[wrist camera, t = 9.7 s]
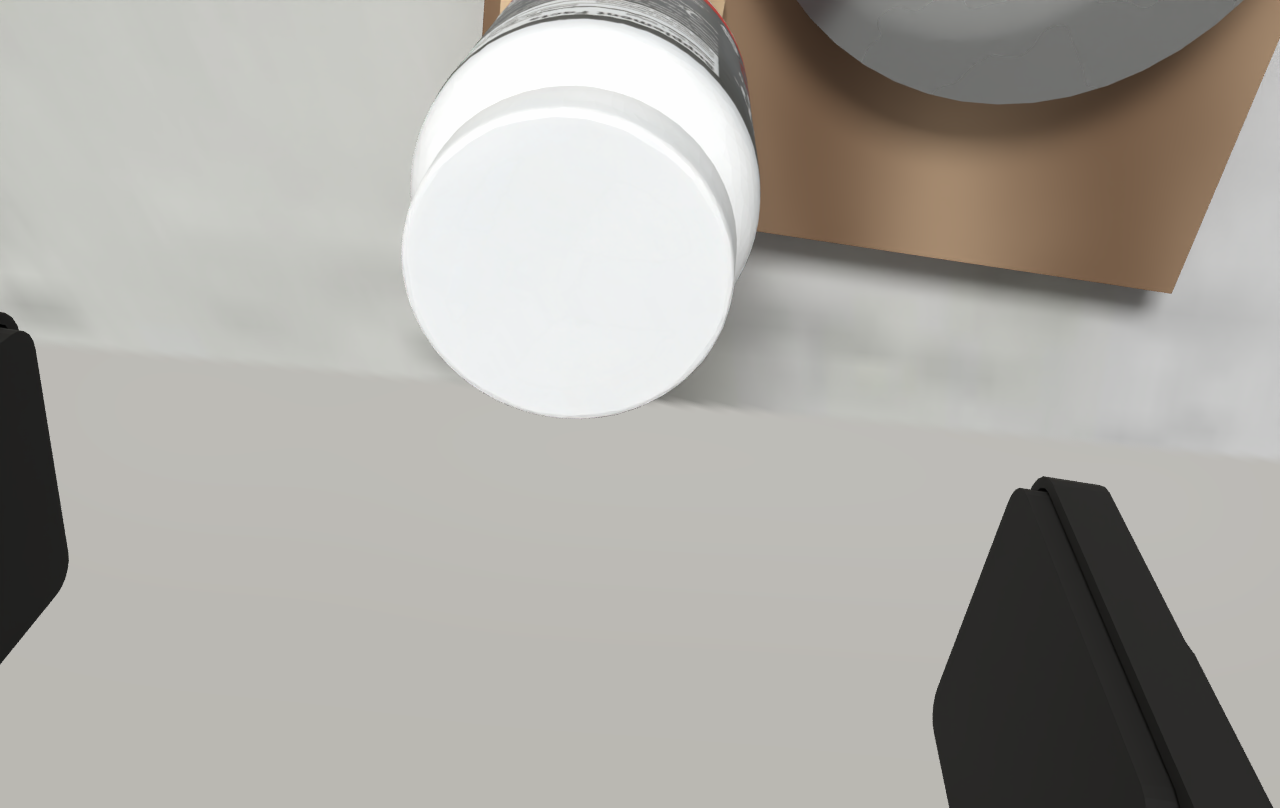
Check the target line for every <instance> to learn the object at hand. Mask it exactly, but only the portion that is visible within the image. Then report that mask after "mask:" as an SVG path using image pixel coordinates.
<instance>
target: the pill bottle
mask: <svg viewBox="0 0 1280 808" xmlns="http://www.w3.org/2000/svg"><path fill="white" fill-rule="evenodd" d="M410 194H411V204H410V207H409V210H408V213H407V216H406V220H405V225H404V230H403V236H402V255H401V261H402V271H403V278H404V284H405V289H406V292H407V295H408V298H409V302H410V305H411V308H412V311H413V313H414V315H415V317H416V320H417V322H418V324H419V326H420V328H421V330H422V332H423V333H424V335H425V336H426V337H427V339H428V341H429V342H430V344H431V345H432V347H433V348H434V349H435V350H436V352H437V353H438V354H439V355H440V357H441V358H442V359H443V360H444V361H445V362H446V363H447V364H448V365H449V366H450V367H451V368H452V369H453V370H454V371H455V372H456V373H457V374H458V375H460V376H461V377H462V378H463V379H464V380H466V381H467V382H468V383H470V384H471V385H472V386H474V387H475V388H477V389H478V390H480V391H481V392H483V393H484V394H486V395H488V396H490V397H492V398H494V399H496V400H498V401H500V402H502V403H504V404H506V405H508V406H512V407H515V408H517V409H519V410H522V411H526V412H530V413H533V414H536V415H543V416H549V417H555V418H570V419H584V418H597V417H605V416H611V415H617V414H620V413H623V412H626V411H629V410H633V409H636V408H638V407H640V406H642V405H645V404H647V403H649V402H651V401H653V400H655V399H657V398H659V397H661V396H663V395H664V394H666V393H667V392H669V391H670V390H672V389H673V388H675V387H676V386H677V385H679V384H680V383H682V382H683V381H684V380H685V379H686V378H687V377H688V376H689V375H690V374H691V373H692V372H693V371H694V370H695V369H696V368H697V367H698V366H699V365H700V364H701V363H702V362H703V360H704V359H705V357H706V356H707V354H708V353H709V352H710V350H711V349H712V347H713V345H714V344H715V342H716V341H717V339H718V337H719V335H720V333H721V331H722V329H723V327H724V324H725V321H726V318H727V315H728V312H729V309H730V306H731V302H732V297H733V291H734V285H735V283H736V282H737V280H738V278H739V276H740V274H741V273H742V271H743V269H744V267H745V265H746V262H747V260H748V257H749V255H750V252H751V249H752V246H753V243H754V240H755V235H756V231H757V226H758V220H759V210H760V195H761V191H760V172H759V164H758V157H757V150H756V144H755V136H754V128H753V121H752V114H751V105H750V96H749V90H748V83H747V77H746V72H745V67H744V63H743V59H742V56H741V54H740V51H739V48H738V46H737V43H736V41H735V39H734V37H733V35H732V33H731V31H730V29H729V27H728V26H727V24H726V22H725V21H724V19H723V18H722V16H721V15H720V14H719V12H718V11H717V10H716V8H715V7H714V6H713V5H712V4H711V2H710V1H709V0H512V1H511V2H510V3H509V4H508V5H507V7H506V8H505V9H504V10H503V11H502V13H501V14H500V15H499V16H498V17H497V19H496V20H495V22H494V23H493V24H492V25H491V27H490V28H489V29H488V30H487V31H486V33H485V34H484V35H483V37H482V38H481V39H480V40H479V41H478V42H477V44H476V45H475V46H474V48H473V49H472V50H471V52H470V53H469V54H468V55H467V57H466V58H465V59H464V60H463V61H462V62H461V64H460V65H459V66H458V68H457V69H456V70H455V71H454V72H453V73H452V74H451V76H450V77H449V79H448V80H447V81H446V83H445V84H444V86H443V87H442V89H441V90H440V92H439V93H438V95H437V97H436V98H435V100H434V102H433V104H432V106H431V108H430V110H429V112H428V114H427V116H426V118H425V120H424V123H423V125H422V128H421V130H420V133H419V136H418V139H417V143H416V147H415V151H414V155H413V162H412V169H411V187H410Z"/></svg>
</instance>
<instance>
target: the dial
mask: <svg viewBox="0 0 1280 808" xmlns="http://www.w3.org/2000/svg"><path fill="white" fill-rule="evenodd" d="M797 1H798V3H799V4H800V5H801V7H802V8H803V9H804V11H805V12H806V13H807V15H808V16H809V17H810V18H811V19H812V20H813V21H814V22H815V23H816V24H817V25H818V26H819V27H820V28H821V29H822V30H823V31H824V32H825V33H826V34H827V35H828V36H829V37H830V38H831V39H832V40H833V41H834V42H835V43H836V44H837V45H838V46H840V47H841V48H842V49H844V50H845V51H846V52H848V53H849V54H850V55H852V56H853V57H854V58H856V59H857V60H858V61H860V62H861V63H862V64H864V65H865V66H867V67H869V68H871V69H873V70H875V71H876V72H878V73H880V74H882V75H884V76H885V77H887V78H889V79H891V80H893V81H895V82H897V83H900V84H903V85H905V86H908V87H911V88H913V89H916V90H919V91H921V92H924V93H927V94H931V95H935V96H940V97H944V98H949V99H953V100H958V101H963V102H974V103H986V104H1019V103H1036V102H1041V101H1047V100H1053V99H1059V98H1065V97H1071V96H1074V95H1077V94H1081V93H1084V92H1088V91H1091V90H1094V89H1098V88H1101V87H1105V86H1108V85H1110V84H1113V83H1115V82H1117V81H1120V80H1122V79H1124V78H1127V77H1129V76H1131V75H1134V74H1136V73H1138V72H1141V71H1143V70H1145V69H1147V68H1149V67H1151V66H1152V65H1154V64H1156V63H1158V62H1160V61H1161V60H1163V59H1165V58H1167V57H1168V56H1170V55H1172V54H1174V53H1176V52H1177V51H1179V50H1181V49H1182V48H1184V47H1185V46H1186V45H1188V44H1189V43H1191V42H1192V41H1193V40H1195V39H1196V38H1198V37H1199V36H1201V35H1202V34H1203V33H1205V32H1206V31H1208V30H1209V29H1210V28H1212V27H1213V26H1215V25H1216V24H1217V23H1218V22H1219V21H1220V20H1222V19H1223V18H1224V17H1225V16H1226V15H1227V14H1228V13H1230V12H1231V11H1232V10H1233V9H1234V8H1235V7H1236V6H1238V5H1239V4H1240V3H1241V2H1242V1H1243V0H797Z"/></svg>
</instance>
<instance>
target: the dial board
mask: <svg viewBox="0 0 1280 808" xmlns="http://www.w3.org/2000/svg"><path fill="white" fill-rule="evenodd" d="M511 1H512V0H485V2H484V17H483V33H482V37H483V35H484V34H485V33H486V31H487V30H488V29H489V28H490V27H491V25H492V24H493V23H494V22H495V20H496V19H497V17H498V16H499V15H500V14H501V13H502V11H503V10H504V9H505V8H506V7H507V5H508V4H509V3H510V2H511ZM709 1H710V2H711V4H712V5H713V6H714V7H715V8H716V10H717V11H718V12H719V14H720V15H721V16H722V18H723V19H724V21H725V22H726V24H727V26H728V27H729V29H730V31H731V33H732V35H733V37H734V39H735V41H736V43H737V46H738V48H739V51H740V54H741V56H742V59H743V63H744V67H745V72H746V77H747V83H748V90H749V96H750V105H751V114H752V121H753V128H754V136H755V144H756V150H757V157H758V164H759V172H760V191H761V195H760V210H759V220H758V226H757V231H758V232H765V233H772V234H778V235H785V236H792V237H798V238H805V239H812V240H818V241H825V242H832V243H838V244H845V245H851V246H858V247H865V248H871V249H878V250H885V251H891V252H898V253H905V254H911V255H918V256H925V257H931V258H938V259H945V260H951V261H958V262H964V263H971V264H978V265H984V266H991V267H998V268H1004V269H1011V270H1018V271H1024V272H1031V273H1038V274H1044V275H1051V276H1058V277H1064V278H1071V279H1078V280H1084V281H1091V282H1097V283H1104V284H1111V285H1117V286H1124V287H1131V288H1137V289H1144V290H1151V291H1157V292H1164V293H1171V294H1172V291H1173V289H1174V287H1175V284H1176V282H1177V279H1178V277H1179V275H1180V272H1181V270H1182V268H1183V265H1184V263H1185V261H1186V258H1187V256H1188V253H1189V251H1190V249H1191V246H1192V244H1193V242H1194V239H1195V237H1196V235H1197V232H1198V230H1199V228H1200V225H1201V223H1202V220H1203V218H1204V216H1205V213H1206V211H1207V209H1208V206H1209V204H1210V202H1211V199H1212V197H1213V194H1214V192H1215V190H1216V187H1217V185H1218V183H1219V180H1220V178H1221V176H1222V173H1223V171H1224V168H1225V166H1226V164H1227V161H1228V159H1229V157H1230V154H1231V152H1232V150H1233V147H1234V145H1235V142H1236V140H1237V138H1238V135H1239V133H1240V131H1241V128H1242V126H1243V124H1244V121H1245V119H1246V116H1247V114H1248V112H1249V109H1250V107H1251V105H1252V102H1253V100H1254V98H1255V95H1256V93H1257V90H1258V88H1259V86H1260V83H1261V81H1262V79H1263V76H1264V74H1265V72H1266V69H1267V67H1268V64H1269V62H1270V60H1271V57H1272V55H1273V53H1274V50H1275V48H1276V46H1277V43H1278V41H1279V38H1280V0H1243V1H1242V2H1241V3H1240V4H1239V5H1238V6H1236V7H1235V8H1234V9H1233V10H1232V11H1231V12H1230V13H1228V14H1227V15H1226V16H1225V17H1224V18H1223V19H1222V20H1220V21H1219V22H1218V23H1217V24H1216V25H1215V26H1213V27H1212V28H1210V29H1209V30H1208V31H1206V32H1205V33H1203V34H1202V35H1201V36H1199V37H1198V38H1196V39H1195V40H1193V41H1192V42H1191V43H1189V44H1188V45H1186V46H1185V47H1184V48H1182V49H1181V50H1179V51H1177V52H1176V53H1174V54H1172V55H1170V56H1168V57H1167V58H1165V59H1163V60H1161V61H1160V62H1158V63H1156V64H1154V65H1152V66H1151V67H1149V68H1147V69H1145V70H1143V71H1141V72H1138V73H1136V74H1134V75H1131V76H1129V77H1127V78H1124V79H1122V80H1120V81H1117V82H1115V83H1113V84H1110V85H1108V86H1105V87H1101V88H1098V89H1094V90H1091V91H1088V92H1084V93H1081V94H1077V95H1074V96H1071V97H1065V98H1059V99H1053V100H1047V101H1041V102H1036V103H1019V104H986V103H974V102H963V101H958V100H953V99H949V98H944V97H940V96H935V95H931V94H927V93H924V92H921V91H919V90H916V89H913V88H911V87H908V86H905V85H903V84H900V83H897V82H895V81H893V80H891V79H889V78H887V77H885V76H884V75H882V74H880V73H878V72H876V71H875V70H873V69H871V68H869V67H867V66H865V65H864V64H862V63H861V62H860V61H858V60H857V59H856V58H854V57H853V56H852V55H850V54H849V53H848V52H846V51H845V50H844V49H842V48H841V47H840V46H838V45H837V44H836V43H835V42H834V41H833V40H832V39H831V38H830V37H829V36H828V35H827V34H826V33H825V32H824V31H823V30H822V29H821V28H820V27H819V26H818V25H817V24H816V23H815V22H814V21H813V20H812V19H811V18H810V17H809V16H808V15H807V13H806V12H805V11H804V9H803V8H802V7H801V5H800V4H799V3H798V1H797V0H709Z"/></svg>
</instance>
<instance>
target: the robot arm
mask: <svg viewBox="0 0 1280 808" xmlns="http://www.w3.org/2000/svg"><path fill="white" fill-rule="evenodd" d="M68 562H69V558H68V548H67V542H66V536H65V529H64V524H63V518H62V512H61V505H60V498H59V492H58V486H57V480H56V474H55V468H54V461H53V455H52V449H51V443H50V436H49V430H48V424H47V418H46V411H45V405H44V400H43V393H42V387H41V380H40V374H39V368H38V362H37V356H36V349H35V346H34V342H33V340H32V338H31V337H30V335H29V334H28V333H26V332H24V331H19V329H18V326H17V324H16V323H15V321H14V320H13V318H12V317H11V316H9V315H8V314H6V313H3V312H0V664H1V663H2V661H3V660H4V659H5V658H6V656H7V655H8V654H9V653H10V652H11V650H12V649H13V648H14V647H15V645H16V644H17V643H18V642H19V640H20V639H21V638H22V637H23V635H24V634H25V633H26V632H27V631H28V629H29V628H30V627H31V625H32V624H33V623H34V622H35V621H36V619H37V618H38V617H39V616H40V615H41V613H42V612H43V611H44V610H45V608H46V607H47V606H48V605H49V603H50V602H51V601H52V600H53V598H54V597H55V596H56V595H57V593H58V592H59V590H60V589H61V587H62V585H63V582H64V580H65V577H66V573H67V569H68ZM933 729H934V735H935V739H936V745H937V750H938V755H939V759H940V764H941V769H942V774H943V779H944V784H945V789H946V794H947V799H948V803H949V808H1273V807H1272V805H1271V803H1270V801H1269V799H1268V797H1267V795H1266V793H1265V791H1264V789H1263V787H1262V785H1261V783H1260V781H1259V779H1258V777H1257V775H1256V773H1255V771H1254V770H1253V767H1252V766H1251V764H1250V762H1249V760H1248V758H1247V756H1246V754H1245V752H1244V750H1243V748H1242V746H1241V744H1240V742H1239V740H1238V739H1237V736H1236V734H1235V732H1234V731H1233V728H1232V726H1231V725H1230V723H1229V721H1228V719H1227V717H1226V715H1225V713H1224V711H1223V709H1222V707H1221V705H1220V704H1219V701H1218V699H1217V697H1216V696H1215V693H1214V691H1213V690H1212V687H1211V685H1210V684H1209V682H1208V680H1207V678H1206V676H1205V674H1204V672H1203V670H1202V668H1201V666H1200V664H1199V662H1198V660H1197V658H1196V656H1195V654H1194V653H1193V652H1192V650H1191V649H1190V648H1189V646H1188V645H1187V643H1186V642H1185V640H1184V638H1183V636H1182V634H1181V632H1180V630H1179V628H1178V626H1177V624H1176V622H1175V621H1174V619H1173V616H1172V614H1171V612H1170V611H1169V609H1168V607H1167V605H1166V603H1165V601H1164V599H1163V597H1162V595H1161V593H1160V591H1159V589H1158V587H1157V585H1156V583H1155V581H1154V579H1153V577H1152V575H1151V573H1150V571H1149V569H1148V567H1147V565H1146V564H1145V561H1144V559H1143V558H1142V556H1141V554H1140V552H1139V550H1138V548H1137V546H1136V544H1135V542H1134V540H1133V538H1132V536H1131V534H1130V532H1129V530H1128V528H1127V526H1126V524H1125V522H1124V520H1123V518H1122V516H1121V514H1120V512H1119V510H1118V508H1117V507H1116V504H1115V502H1114V501H1113V499H1112V497H1111V495H1110V493H1109V492H1108V490H1107V489H1106V488H1105V487H1103V486H1100V485H1095V484H1088V483H1082V482H1076V481H1070V480H1063V479H1057V478H1050V477H1044V476H1043V477H1041V478H1039V479H1038V480H1037V481H1036V482H1035V483H1034V485H1033V486H1032V488H1031V490H1030V489H1023V488H1018V489H1016V490H1015V491H1014V492H1013V494H1012V495H1011V497H1010V500H1009V502H1008V504H1007V507H1006V509H1005V512H1004V515H1003V517H1002V520H1001V522H1000V525H999V528H998V530H997V533H996V536H995V538H994V541H993V543H992V546H991V549H990V552H989V554H988V557H987V559H986V562H985V564H984V567H983V570H982V572H981V575H980V578H979V580H978V583H977V586H976V588H975V591H974V593H973V596H972V599H971V601H970V604H969V607H968V609H967V612H966V614H965V617H964V620H963V623H962V625H961V628H960V630H959V633H958V635H957V638H956V641H955V643H954V646H953V649H952V651H951V654H950V656H949V659H948V662H947V664H946V667H945V670H944V672H943V675H942V677H941V680H940V683H939V685H938V688H937V692H936V694H935V699H934V705H933Z"/></svg>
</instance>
